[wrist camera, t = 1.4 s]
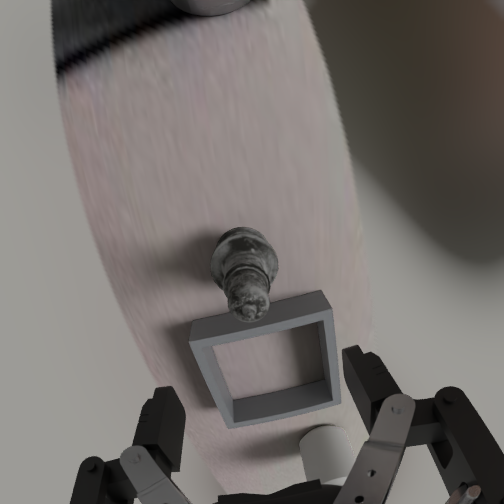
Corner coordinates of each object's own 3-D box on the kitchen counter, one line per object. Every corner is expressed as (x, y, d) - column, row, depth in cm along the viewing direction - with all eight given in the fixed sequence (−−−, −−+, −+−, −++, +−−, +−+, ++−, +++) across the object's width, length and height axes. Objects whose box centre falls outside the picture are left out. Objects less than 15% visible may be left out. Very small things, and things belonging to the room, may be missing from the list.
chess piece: (240, 292, 32) (245, 368, 20) (199, 251, 30) (183, 313, 19) (285, 255, 31) (315, 318, 19) (245, 211, 29) (256, 253, 18)
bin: (192, 320, 32) (188, 341, 29) (321, 290, 32) (332, 308, 28) (227, 406, 37) (228, 429, 33) (332, 382, 37) (341, 403, 33)
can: (304, 454, 42) (317, 513, 31) (292, 432, 40) (306, 498, 28) (347, 439, 42) (368, 496, 30) (340, 415, 39) (364, 479, 28)
